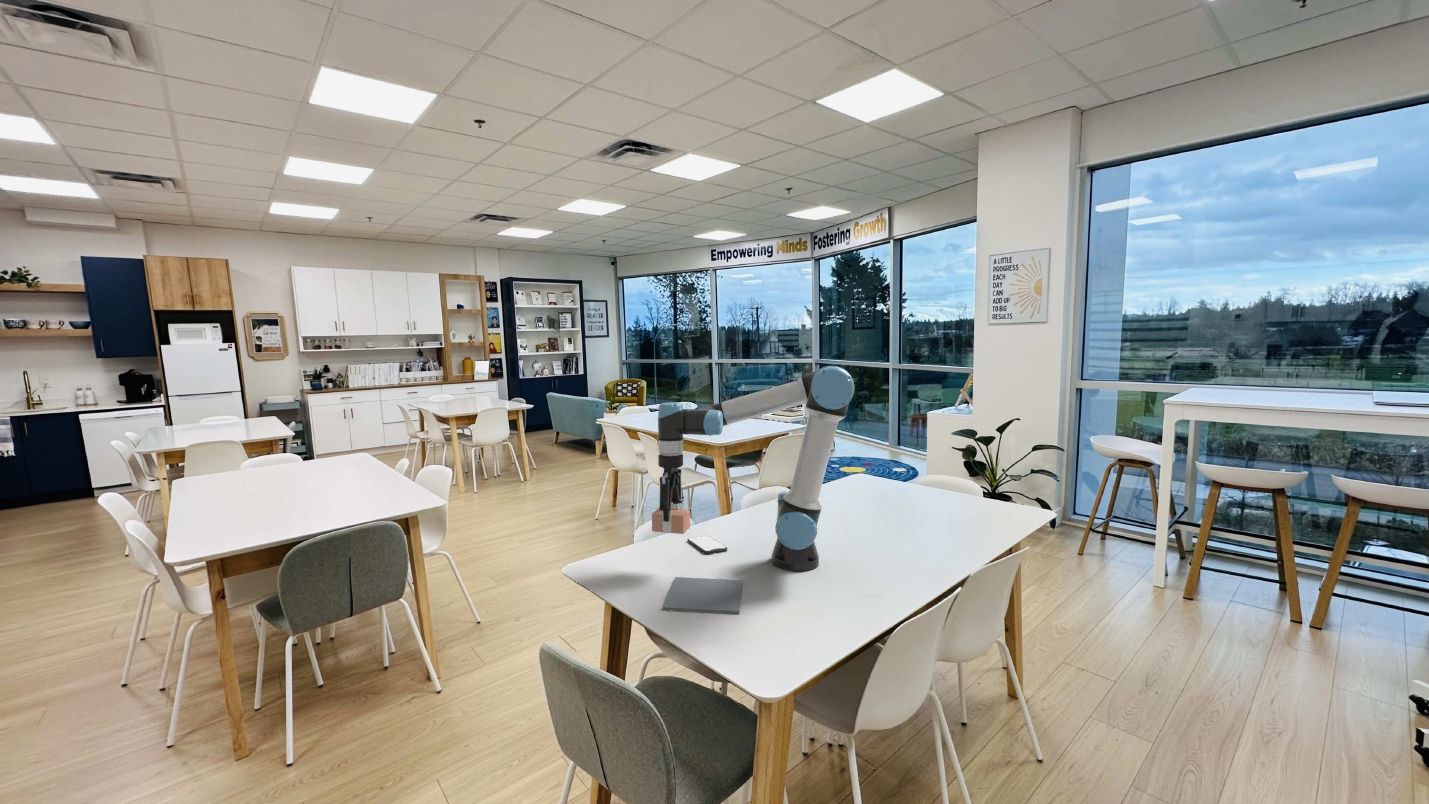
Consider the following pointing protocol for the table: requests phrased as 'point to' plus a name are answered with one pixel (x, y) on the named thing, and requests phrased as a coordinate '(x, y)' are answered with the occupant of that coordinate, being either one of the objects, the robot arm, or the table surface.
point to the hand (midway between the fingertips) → (671, 527)
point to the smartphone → (707, 545)
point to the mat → (704, 595)
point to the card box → (678, 521)
